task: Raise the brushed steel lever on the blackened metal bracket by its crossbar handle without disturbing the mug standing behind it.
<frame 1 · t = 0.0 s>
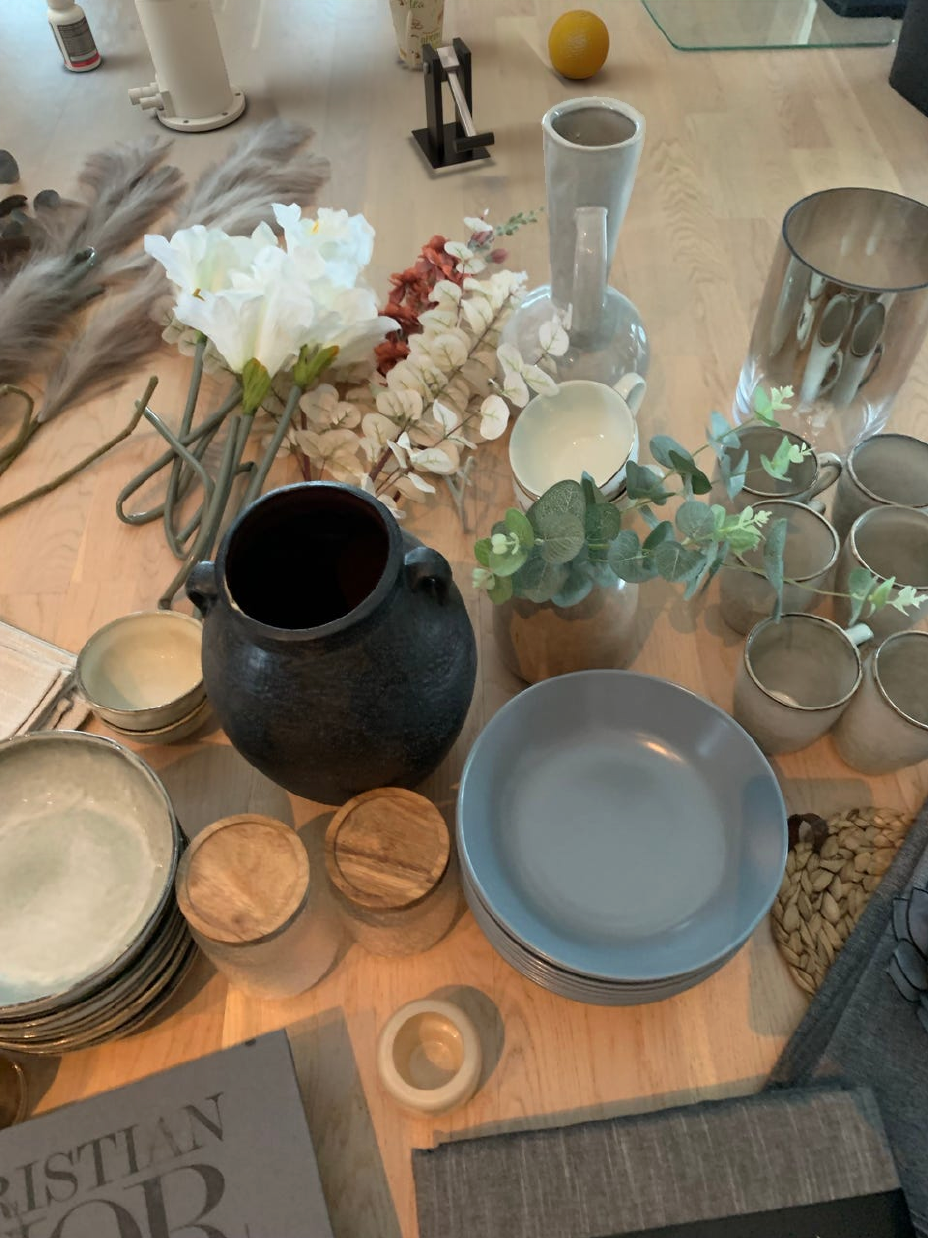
bracket: (450, 151, 117), on the table
lever: (459, 100, 107), point 9 cm above the table, hinge at -26.0°
pill bottle: (84, 65, 133), on the table
fruit: (576, 76, 127), on the table
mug: (419, 68, 130), on the table
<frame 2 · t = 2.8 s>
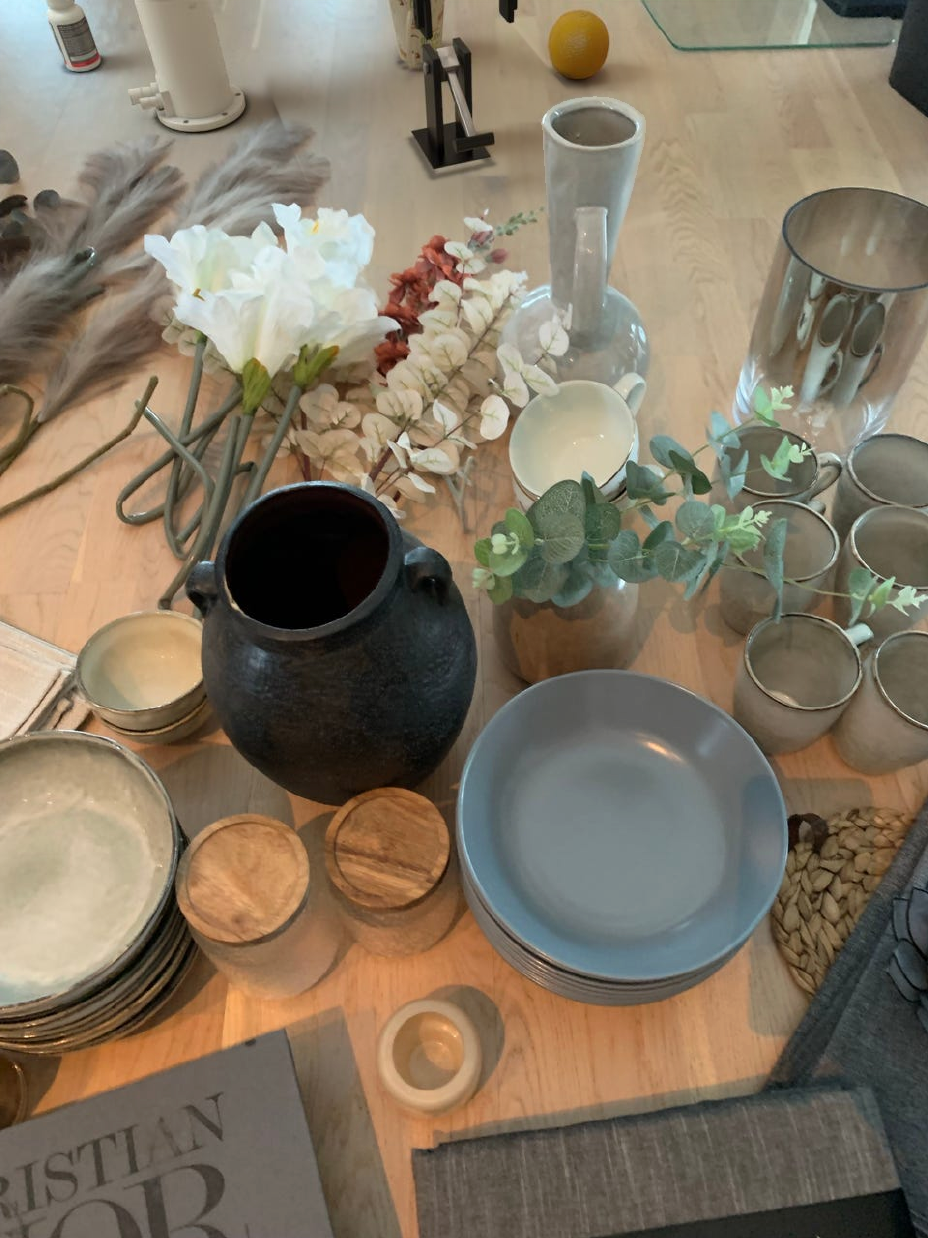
hand: (466, 26, 97), 18 cm above the table, tool pointing down, fingers open, 9 cm apart
nothing on the table moved.
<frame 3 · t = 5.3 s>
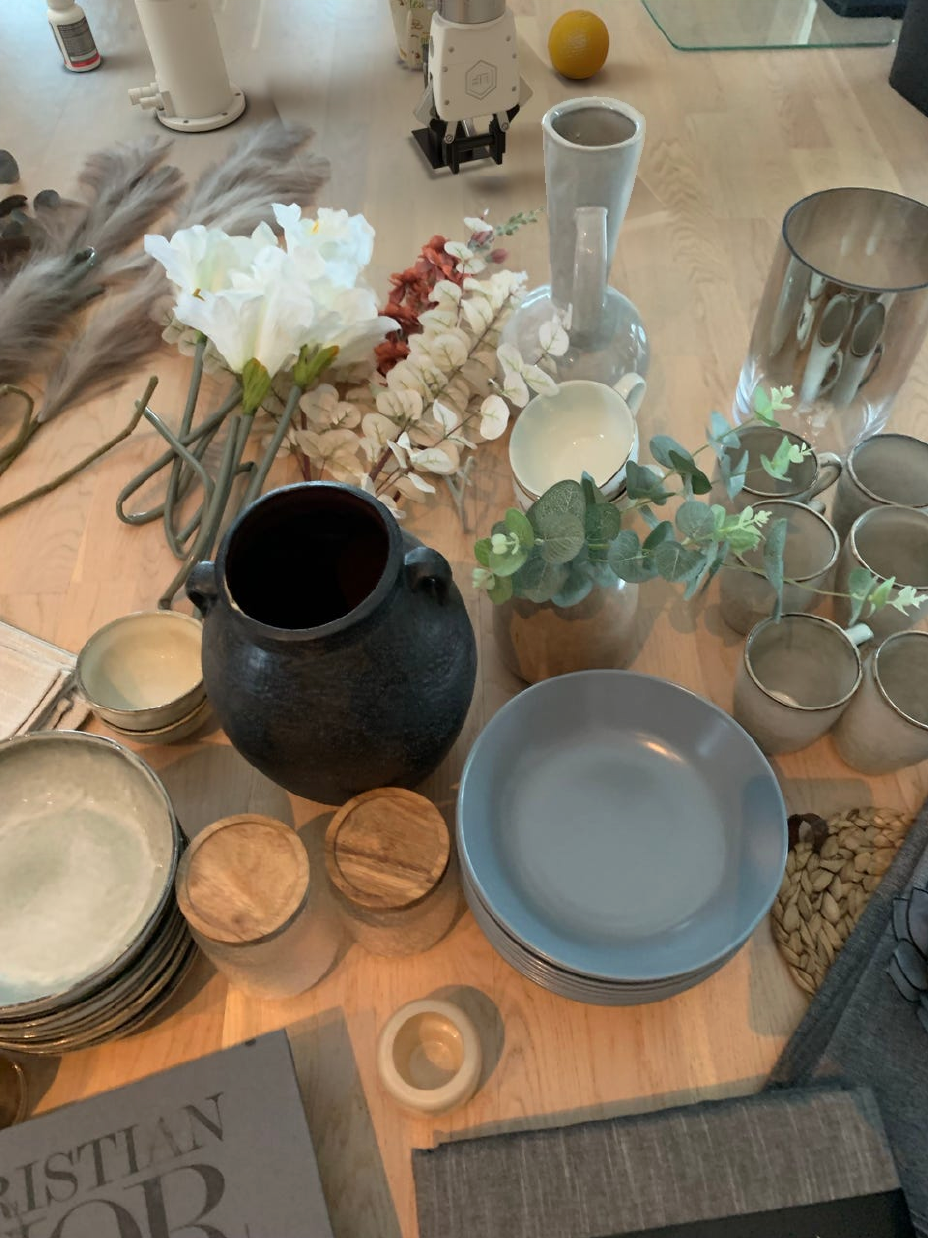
hand: (474, 162, 108), 4 cm above the table, tool pointing down, fingers closed on lever, 5 cm apart
lever: (459, 100, 107), point 9 cm above the table, hinge at -26.0°, touching gripper
everything else where it was.
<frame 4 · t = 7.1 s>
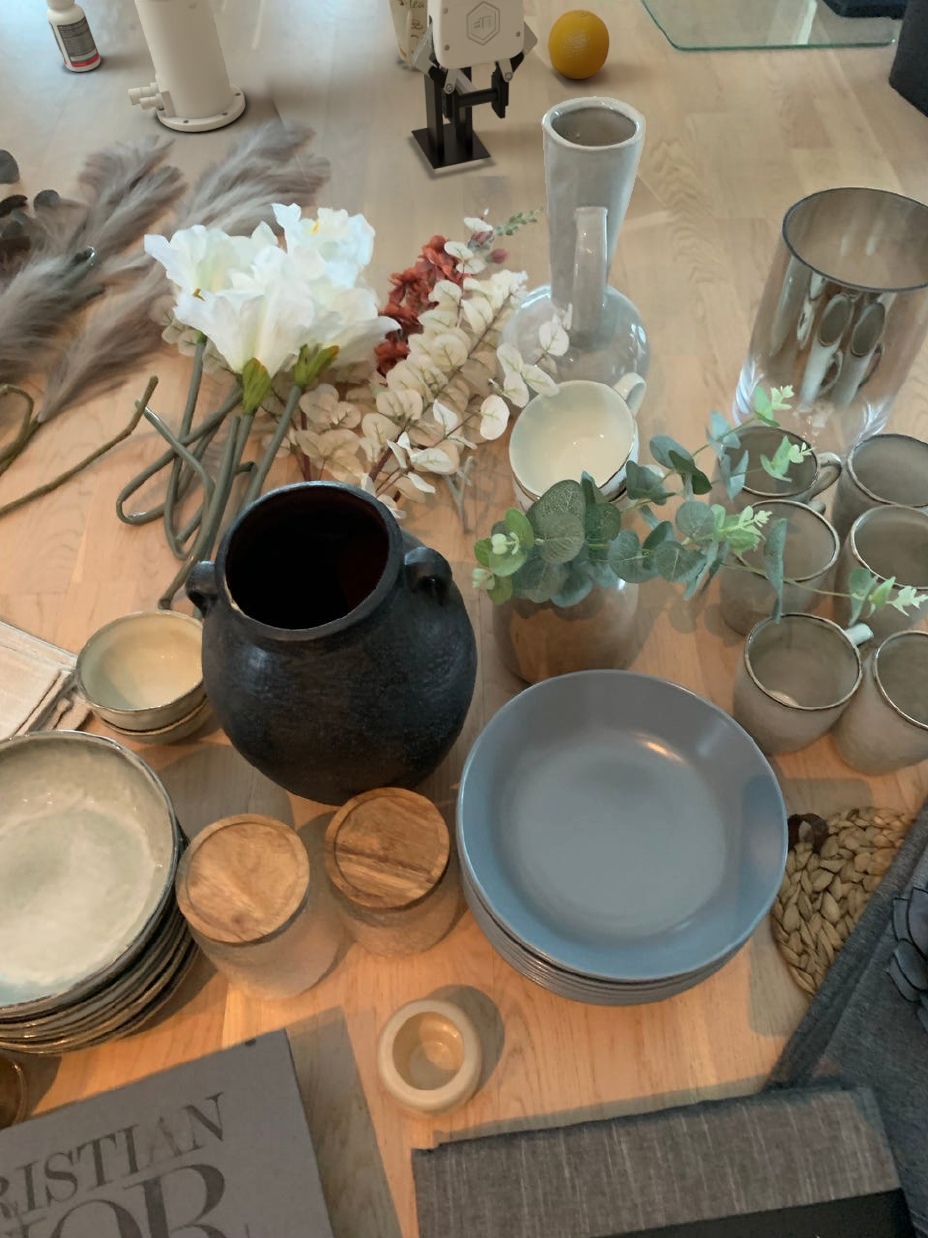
hand: (475, 115, 103), 10 cm above the table, tool pointing down, fingers closed on lever, 5 cm apart
lever: (460, 79, 104), point 11 cm above the table, hinge at 4.5°, touching gripper
everything else where it was.
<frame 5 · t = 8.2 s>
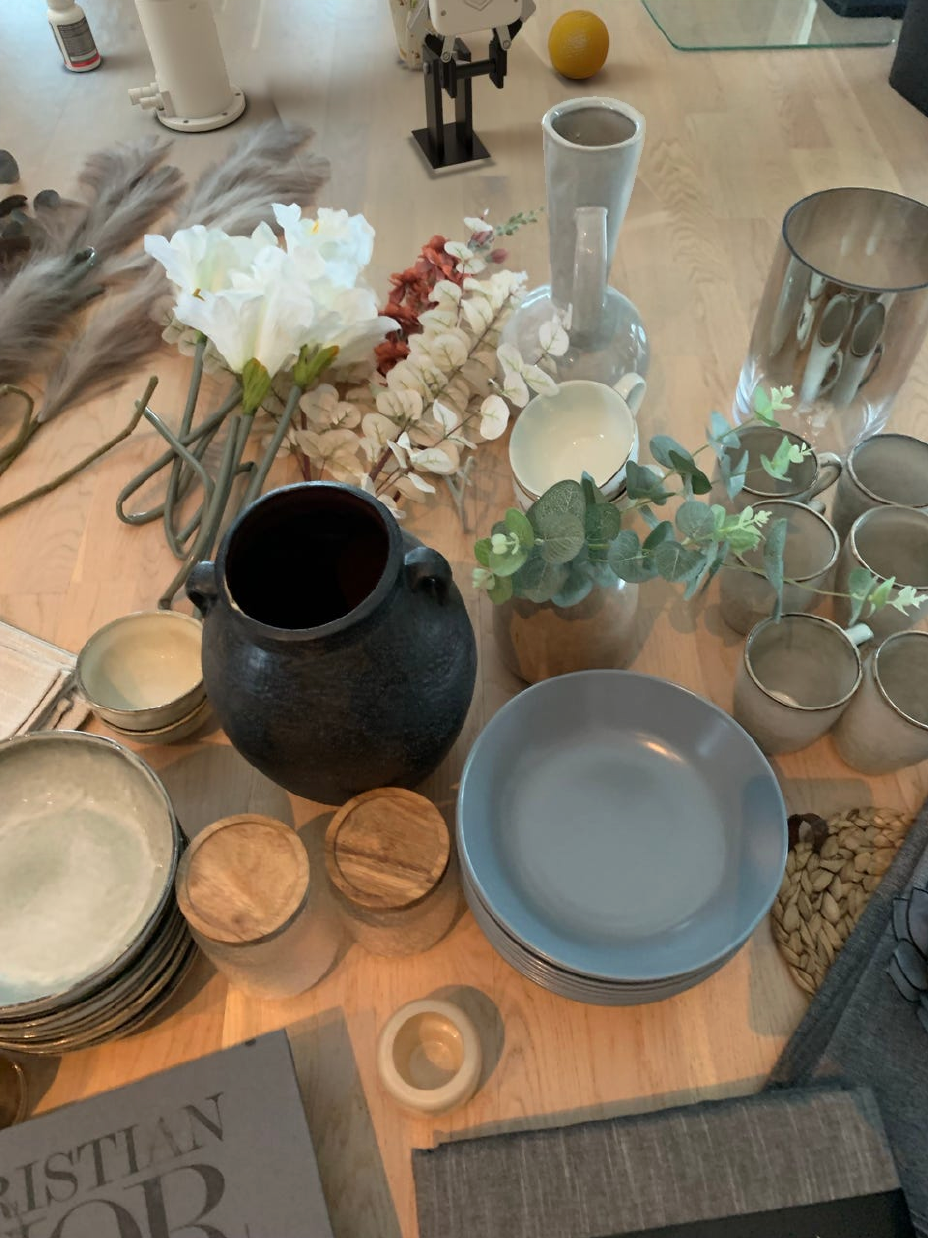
hand: (473, 86, 101), 13 cm above the table, tool pointing down, fingers closed on lever, 5 cm apart
lever: (459, 66, 103), point 13 cm above the table, hinge at 19.8°, touching gripper
everything else where it was.
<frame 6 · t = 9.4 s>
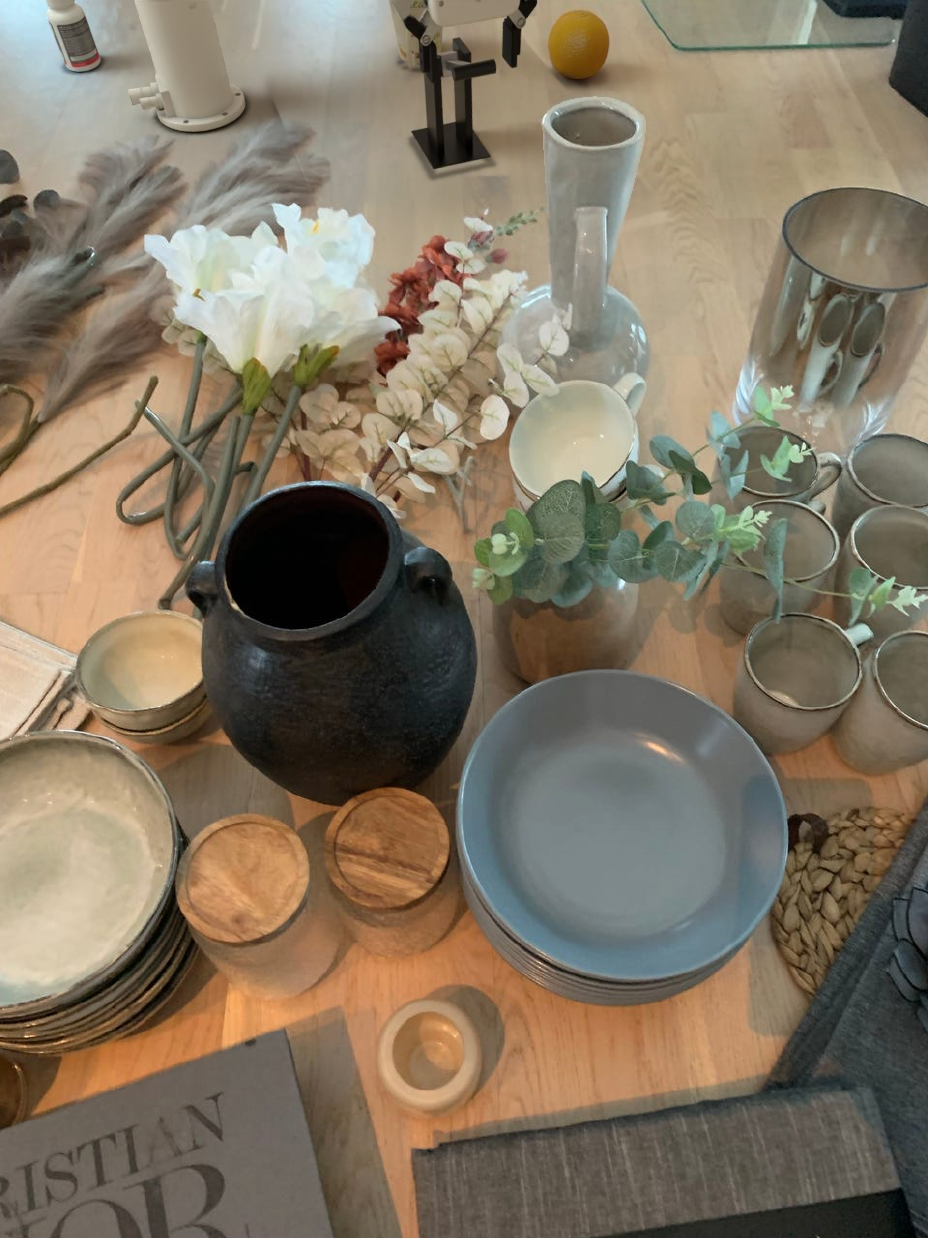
hand: (470, 69, 100), 14 cm above the table, tool pointing down, fingers open, 9 cm apart
lever: (459, 66, 103), point 13 cm above the table, hinge at 19.4°
everything else where it was.
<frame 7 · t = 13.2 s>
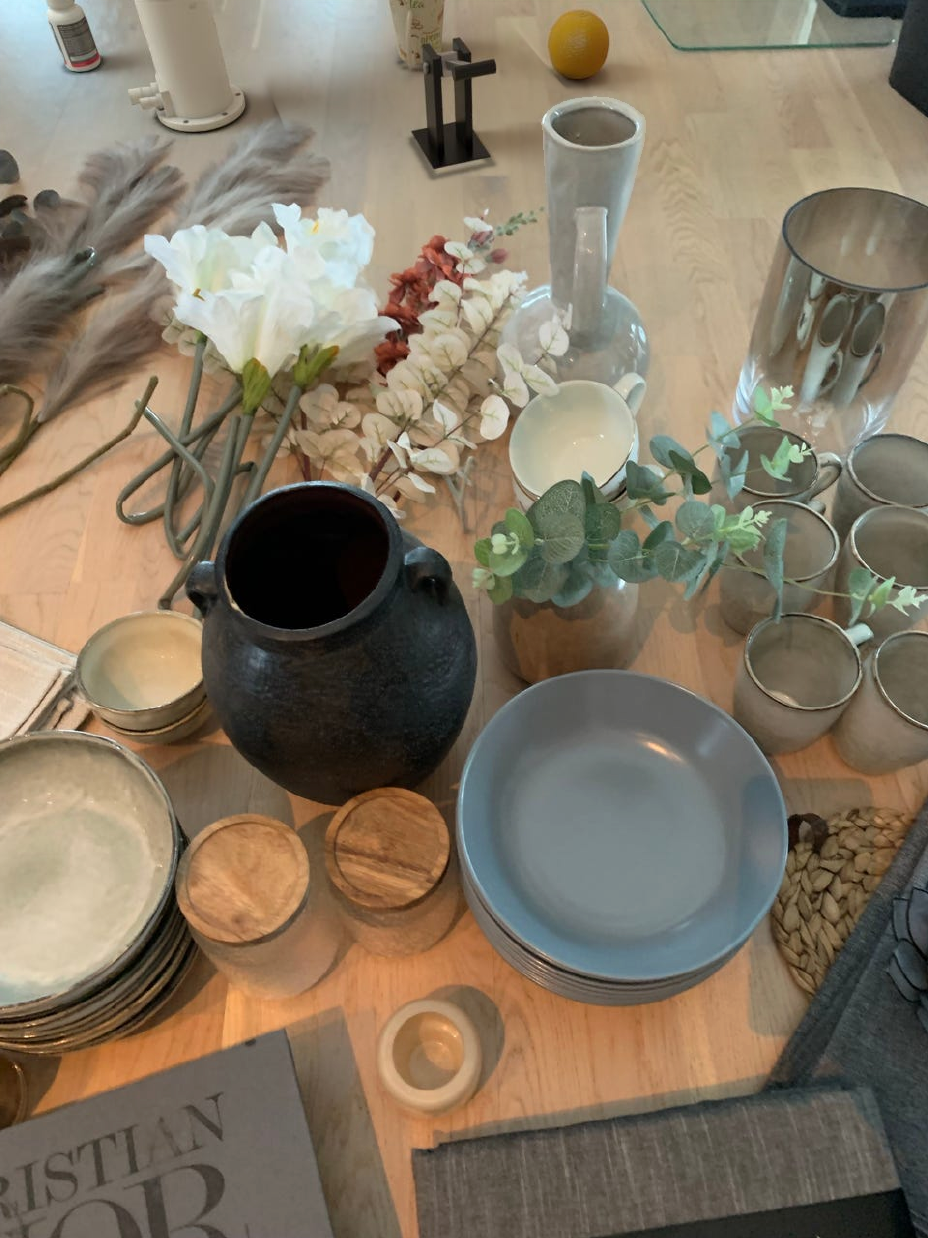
nothing on the table moved.
at the end: lever at +19° (first picture: -26°); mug moved 0.2 cm from its start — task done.
